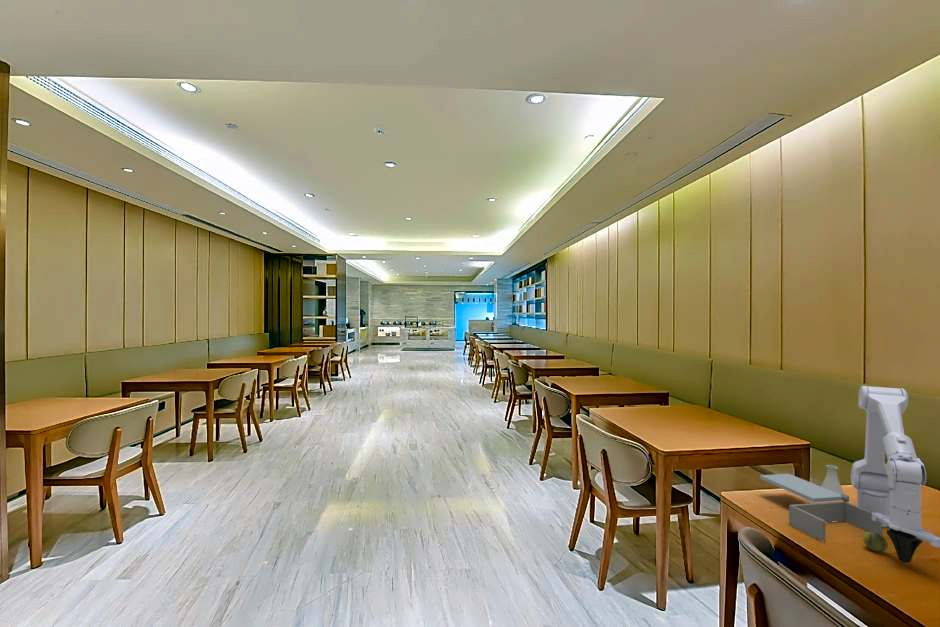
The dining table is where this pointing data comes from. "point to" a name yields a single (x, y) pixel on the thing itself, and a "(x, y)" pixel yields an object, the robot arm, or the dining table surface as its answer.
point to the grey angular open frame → (830, 517)
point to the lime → (875, 541)
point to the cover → (803, 488)
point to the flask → (832, 480)
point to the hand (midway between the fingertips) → (904, 561)
